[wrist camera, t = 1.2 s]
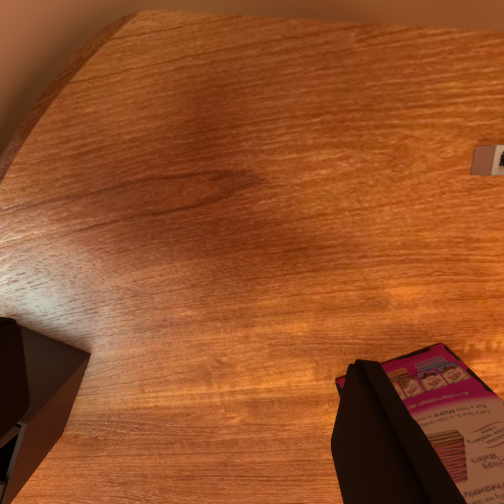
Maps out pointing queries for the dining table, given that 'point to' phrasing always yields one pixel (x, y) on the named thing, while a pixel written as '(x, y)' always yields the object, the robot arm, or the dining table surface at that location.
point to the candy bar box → (454, 418)
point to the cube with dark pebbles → (488, 160)
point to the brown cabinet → (41, 408)
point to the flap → (9, 435)
